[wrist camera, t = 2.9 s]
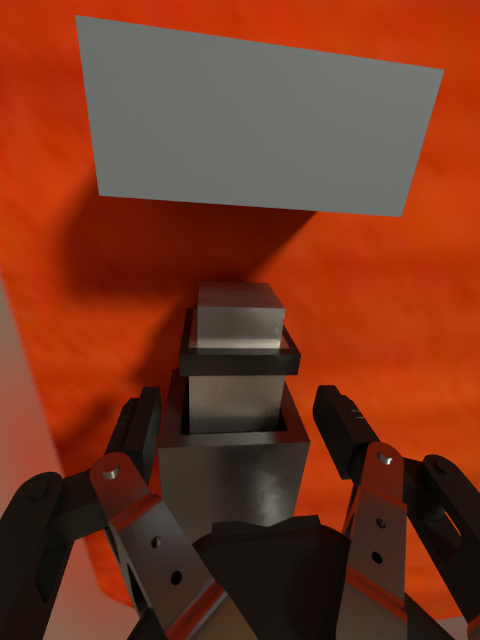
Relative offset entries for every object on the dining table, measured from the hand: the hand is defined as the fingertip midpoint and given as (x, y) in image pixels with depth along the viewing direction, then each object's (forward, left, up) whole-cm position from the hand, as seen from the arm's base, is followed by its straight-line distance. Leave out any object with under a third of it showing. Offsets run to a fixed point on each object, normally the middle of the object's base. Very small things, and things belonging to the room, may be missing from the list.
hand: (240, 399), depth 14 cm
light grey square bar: (-3, -2, -6) cm, 7 cm away
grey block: (+9, +6, -6) cm, 13 cm away
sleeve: (-6, -4, -6) cm, 10 cm away
